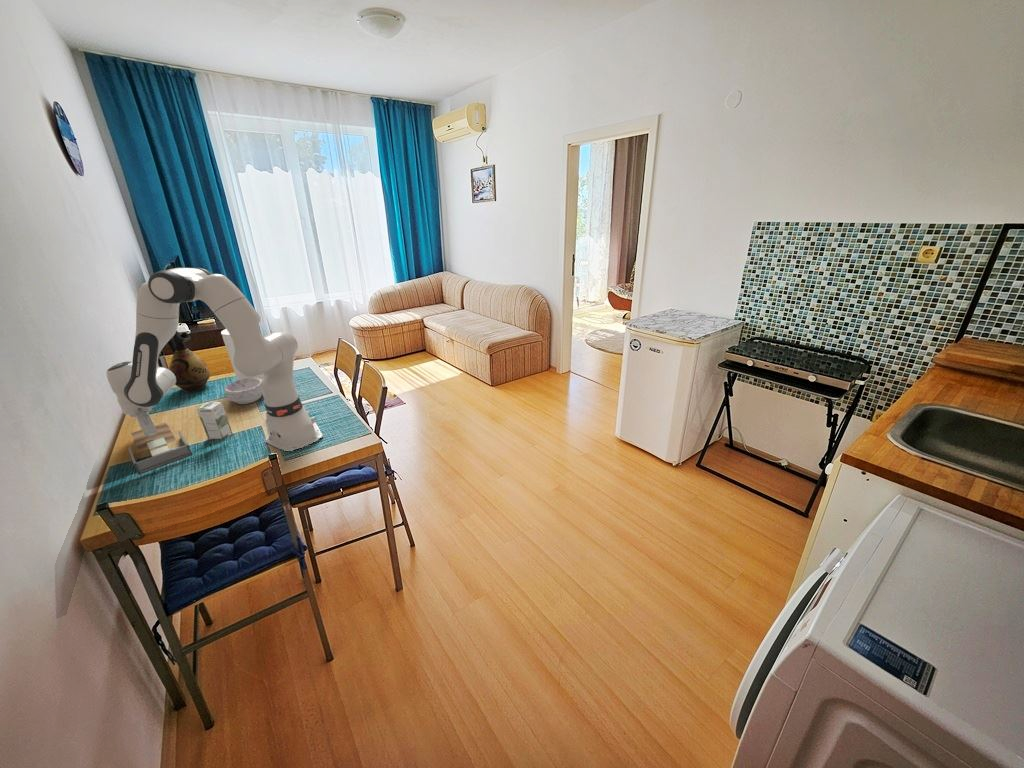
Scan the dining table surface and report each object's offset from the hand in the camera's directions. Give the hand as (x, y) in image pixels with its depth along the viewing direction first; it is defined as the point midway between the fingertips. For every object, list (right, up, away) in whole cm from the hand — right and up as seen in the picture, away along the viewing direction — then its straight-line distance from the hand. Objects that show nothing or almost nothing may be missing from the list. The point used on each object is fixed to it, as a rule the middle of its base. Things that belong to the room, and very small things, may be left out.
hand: (152, 436), depth 154 cm
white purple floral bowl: (+15, +13, +33) cm, 39 cm away
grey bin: (+11, -6, -7) cm, 14 cm away
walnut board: (-2, -1, +3) cm, 4 cm away
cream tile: (+11, -6, -8) cm, 14 cm away
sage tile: (+7, -4, -5) cm, 9 cm away
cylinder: (+9, +21, +51) cm, 56 cm away
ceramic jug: (-21, +18, +47) cm, 54 cm away
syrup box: (+24, -1, +3) cm, 24 cm away
